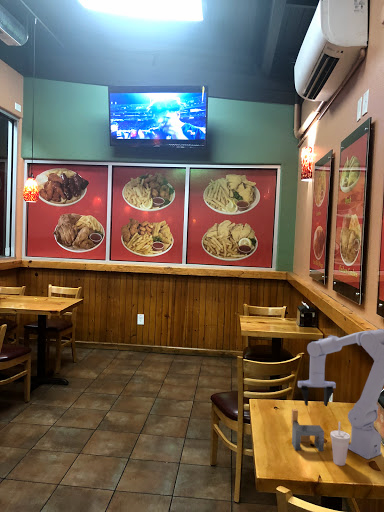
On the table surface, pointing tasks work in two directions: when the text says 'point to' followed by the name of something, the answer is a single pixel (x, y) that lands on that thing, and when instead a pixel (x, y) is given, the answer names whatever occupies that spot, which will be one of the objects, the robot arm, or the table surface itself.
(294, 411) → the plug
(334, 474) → the table surface
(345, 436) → the smoothie
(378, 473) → the table surface
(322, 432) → the housing
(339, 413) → the table surface
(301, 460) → the table surface
